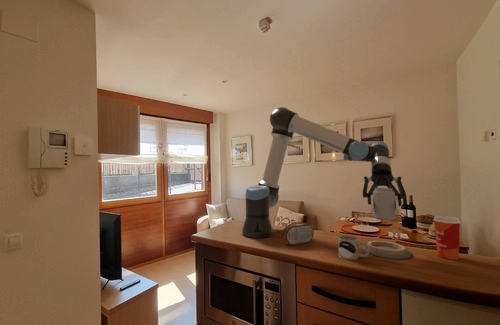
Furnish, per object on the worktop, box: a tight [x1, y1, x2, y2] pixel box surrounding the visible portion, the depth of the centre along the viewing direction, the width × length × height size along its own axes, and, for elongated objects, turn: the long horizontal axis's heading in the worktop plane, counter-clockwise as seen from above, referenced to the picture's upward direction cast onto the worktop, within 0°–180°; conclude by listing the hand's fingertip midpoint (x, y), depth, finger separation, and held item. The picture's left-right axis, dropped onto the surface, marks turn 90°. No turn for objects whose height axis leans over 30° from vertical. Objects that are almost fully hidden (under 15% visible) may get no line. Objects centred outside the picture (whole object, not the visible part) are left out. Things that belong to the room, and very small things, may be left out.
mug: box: [337, 235, 370, 261], centre depth 83 cm, size 10×7×7 cm, turn 56°
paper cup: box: [432, 215, 462, 261], centre depth 83 cm, size 8×8×14 cm
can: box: [372, 187, 397, 222], centre depth 90 cm, size 8×8×12 cm
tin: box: [282, 222, 315, 246], centre depth 99 cm, size 15×3×8 cm, turn 115°
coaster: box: [361, 240, 412, 260], centre depth 89 cm, size 16×16×2 cm
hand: (384, 211), depth 87 cm, fingers closed on can, 7 cm apart
